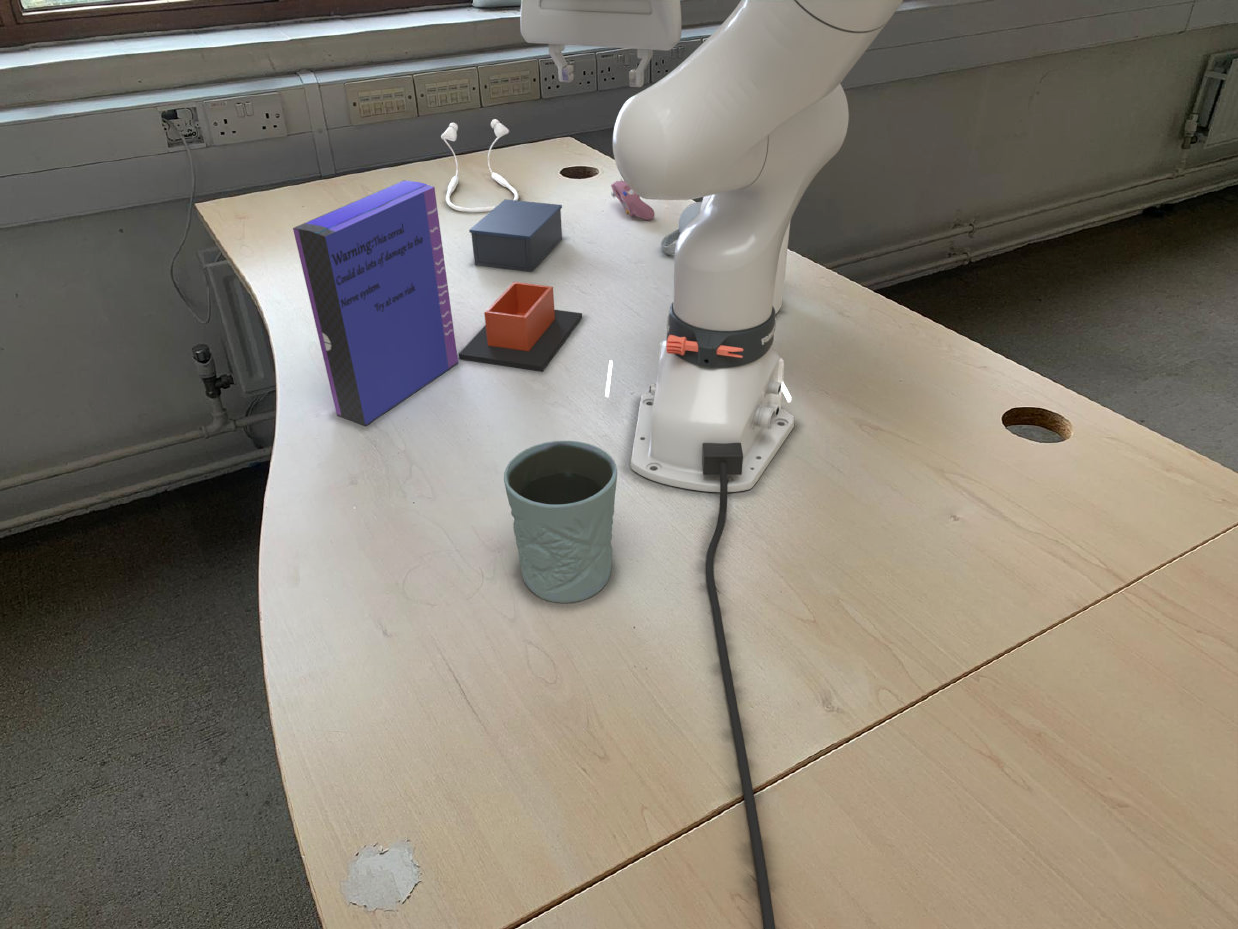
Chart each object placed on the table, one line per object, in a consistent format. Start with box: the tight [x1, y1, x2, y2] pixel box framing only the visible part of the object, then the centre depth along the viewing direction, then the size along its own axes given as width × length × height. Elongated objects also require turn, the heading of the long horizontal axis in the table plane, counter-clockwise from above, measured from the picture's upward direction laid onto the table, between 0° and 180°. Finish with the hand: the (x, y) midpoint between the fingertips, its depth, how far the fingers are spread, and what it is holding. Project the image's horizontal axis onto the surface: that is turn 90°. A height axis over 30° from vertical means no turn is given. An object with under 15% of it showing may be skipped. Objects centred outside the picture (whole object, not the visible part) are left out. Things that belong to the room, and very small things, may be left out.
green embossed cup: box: [503, 440, 618, 604], centre depth 83 cm, size 10×10×12 cm
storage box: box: [468, 198, 563, 273], centre depth 148 cm, size 14×10×6 cm
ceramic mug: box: [660, 201, 702, 256], centre depth 147 cm, size 11×8×8 cm
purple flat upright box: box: [292, 179, 459, 427], centre depth 108 cm, size 17×5×24 cm, turn 149°
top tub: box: [483, 281, 555, 351], centre depth 124 cm, size 10×6×5 cm, turn 163°
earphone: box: [440, 118, 519, 213], centre depth 170 cm, size 14×17×18 cm
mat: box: [458, 309, 583, 372], centre depth 125 cm, size 16×12×1 cm
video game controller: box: [610, 178, 655, 221], centre depth 162 cm, size 10×5×7 cm, turn 17°
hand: (601, 83), depth 115 cm, fingers open, 8 cm apart
